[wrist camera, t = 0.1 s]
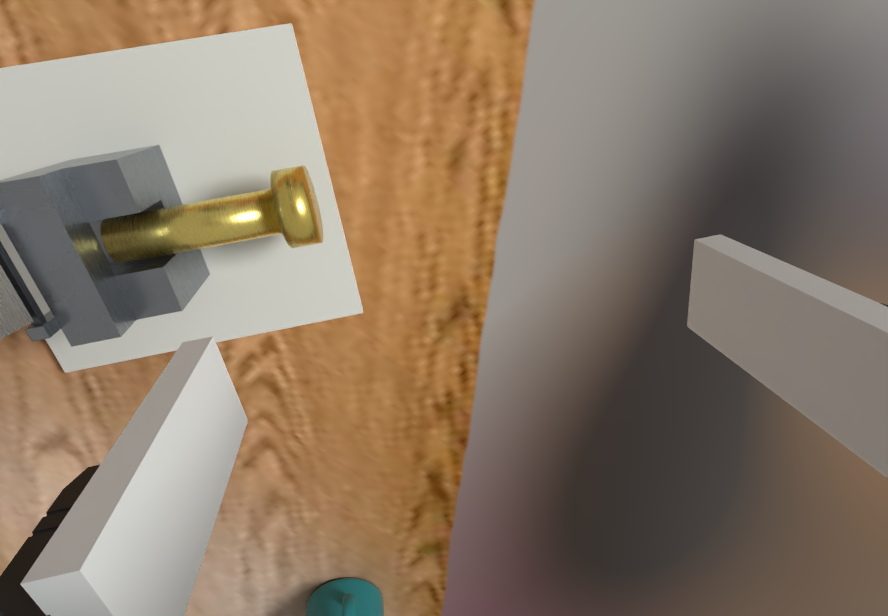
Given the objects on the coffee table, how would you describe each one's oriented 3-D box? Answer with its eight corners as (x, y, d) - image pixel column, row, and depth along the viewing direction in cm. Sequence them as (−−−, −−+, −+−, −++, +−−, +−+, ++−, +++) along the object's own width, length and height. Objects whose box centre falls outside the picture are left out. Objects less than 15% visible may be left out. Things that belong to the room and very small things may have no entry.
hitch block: (159, 144, 34) (85, 170, 25) (210, 274, 39) (163, 336, 30) (56, 162, 34) (-59, 194, 25) (119, 291, 38) (43, 360, 29)
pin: (306, 159, 34) (298, 172, 29) (325, 230, 36) (320, 253, 32) (115, 193, 33) (75, 212, 28) (147, 263, 35) (115, 292, 31)
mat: (-99, 84, 31) (-107, 84, 31) (292, 24, 33) (291, 23, 33) (69, 368, 41) (65, 372, 40) (363, 309, 43) (363, 312, 42)
